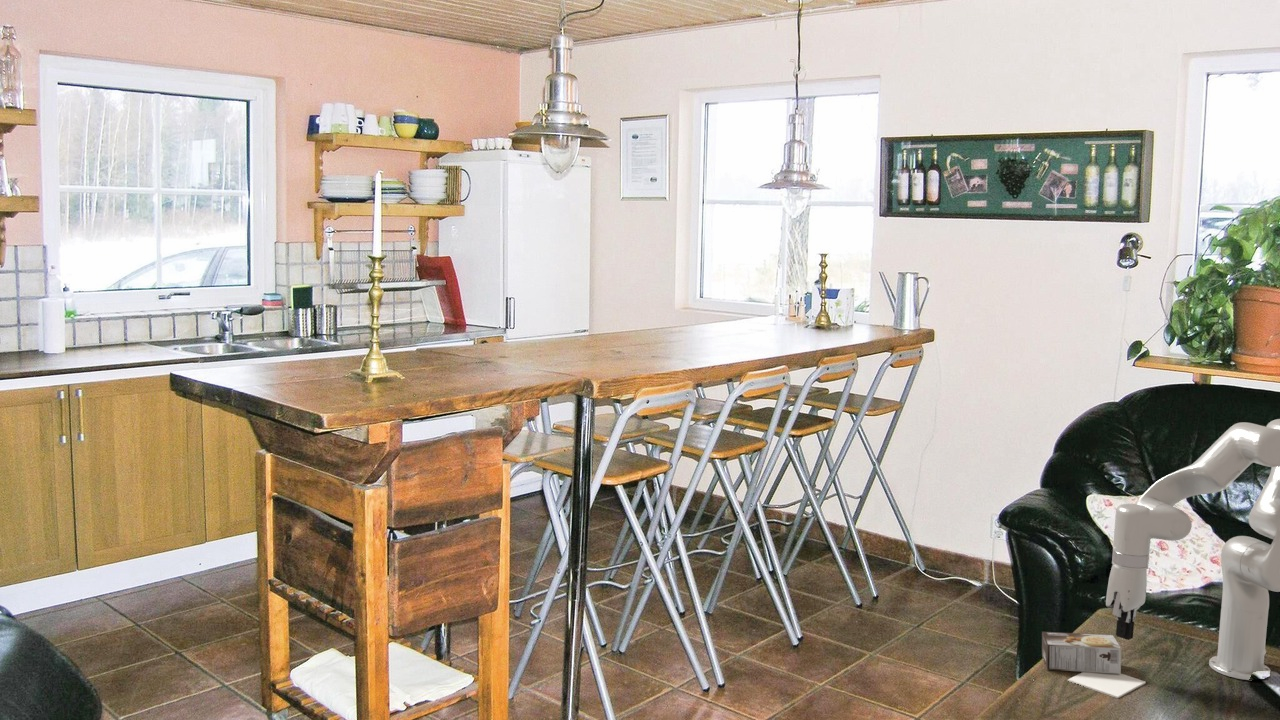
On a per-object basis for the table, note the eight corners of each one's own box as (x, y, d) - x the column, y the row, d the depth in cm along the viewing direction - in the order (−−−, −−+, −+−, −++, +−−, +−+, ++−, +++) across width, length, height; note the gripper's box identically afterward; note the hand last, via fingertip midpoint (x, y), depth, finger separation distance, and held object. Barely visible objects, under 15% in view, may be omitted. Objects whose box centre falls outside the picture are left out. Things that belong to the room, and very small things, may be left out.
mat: (1096, 667, 255) (1096, 665, 255) (1145, 683, 246) (1145, 681, 246) (1067, 681, 247) (1067, 679, 247) (1117, 698, 238) (1117, 696, 238)
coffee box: (1113, 661, 258) (1041, 656, 261) (1113, 634, 257) (1041, 630, 261) (1121, 674, 249) (1046, 670, 252) (1121, 647, 248) (1047, 643, 252)
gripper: (1130, 549, 254) (1124, 625, 257) (1097, 561, 245) (1092, 639, 247) (1162, 557, 249) (1156, 635, 251) (1130, 569, 239) (1124, 649, 241)
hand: (1124, 637), depth 249 cm, fingers closed
